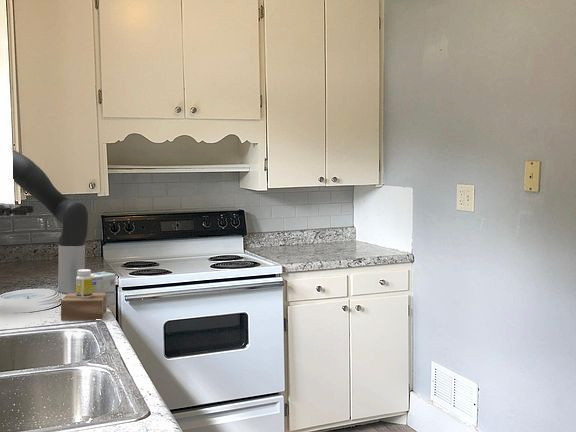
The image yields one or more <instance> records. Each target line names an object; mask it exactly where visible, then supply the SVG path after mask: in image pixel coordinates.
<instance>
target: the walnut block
mask: <svg viewBox="0 0 576 432" xmlns="http://www.w3.org/2000/svg"><path fill="white" fill-rule="evenodd" d="M106 297H107V293H92V297H89V298H78V297H76V293H65V296H64V297H63V298H62V299H61V300H60V321H97V320H96V319H102V318H103V319H104V317H105V315H106V313H107V306H106ZM105 312H106V313H105ZM104 314H105V315H104ZM103 316H104V317H103ZM103 319H102V320H103Z"/></svg>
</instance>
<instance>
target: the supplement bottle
mask: <svg viewBox="0 0 576 432" xmlns="http://www.w3.org/2000/svg"><path fill="white" fill-rule="evenodd" d="M77 274H78V276H77V277H76V297H78V298H89V297H92V276H90V275H91V274H92V270H91V269H88V268H85V269H81V270H78V273H77Z"/></svg>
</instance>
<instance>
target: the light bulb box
mask: <svg viewBox="0 0 576 432" xmlns="http://www.w3.org/2000/svg"><path fill="white" fill-rule="evenodd" d="M90 276H92V293H107V297H106V307H110V306H111V307H112V306H115V305H116V274H115V273H112V272H107V271H101V272H99V271H98V272H93V273H92V272H91V275H90Z"/></svg>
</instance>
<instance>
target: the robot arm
mask: <svg viewBox="0 0 576 432" xmlns="http://www.w3.org/2000/svg"><path fill="white" fill-rule="evenodd" d="M13 179H14V181H13V182H15V183H16V185H18V186H19V187H21V189H23V190H24V191H25V192H26V193H28V194H29V195H30V196H31V197H33V198H34V199H36V200H37V201H38V202H40V203H41V204H42V205H43V206H44V207H45V208H46V209H47V210H48V211H49V213H51V214H52V216H54V218H55V219H56V220H57V221H58V222H59V223H61V224H62V230H61V231H62V232H61V235H60V236H59V237H58V269H57V270H58V273H57V274H58V275H57V276H58V277H57V280H58V281H57V282H58V283H57V287H58V289H57V291H58V292H59V293H61V294H67V293H76V277H77V276H78V274H77V273H78V270H81V269H86V240H87V237H88V228H89V226H88V225H89V214H88V213H89V211H88V209H87V206H86V205H84V204H83V203H82V202H80V201H74V200H71V199H70V198H69V197H67V196H66V195H64V194H63V193H61V192H60V191H59V190H58V189H57V188H56V187H55V186H54V185H53V183H52V182H51V179H50V178H49V177H48V175H47V174H46V173H45V171H43V169H42V168H41V167H40V166H38V164H36V163H35V162H34V161H33V160H31V159H30V158H29V157H27V156H25V155H24V154H23V153H21V152H19V151H17V150H16V149H13ZM33 213H34V206H32V205H21V204H19V203H18V204H14V203H3V202H2V203H1V202H0V218H1V217H9V216H11V217H12V216H26V215H27V214H33Z"/></svg>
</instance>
